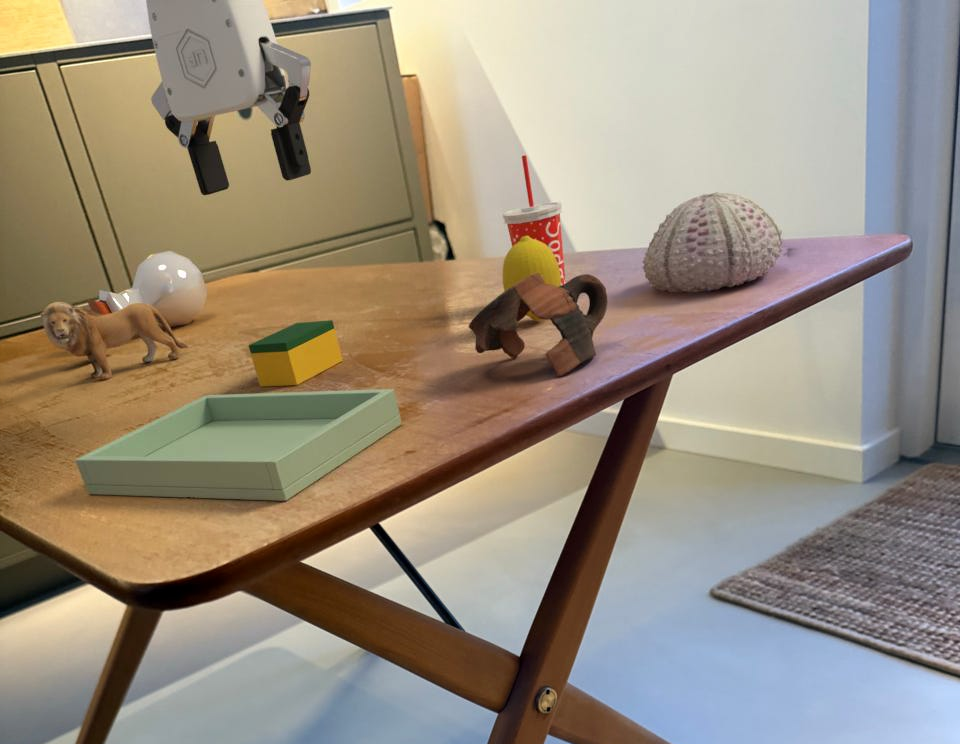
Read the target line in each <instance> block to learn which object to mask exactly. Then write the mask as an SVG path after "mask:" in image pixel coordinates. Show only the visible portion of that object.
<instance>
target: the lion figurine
mask: <svg viewBox="0 0 960 744" xmlns="http://www.w3.org/2000/svg"><path fill="white" fill-rule="evenodd" d="M40 318H41V320H42V327H43V329H44V331H45V334H46V337H47V339H48V340H49V341H50V342H51V344H53V346H54V347H56V348H57V349H60V350H66V351H67V352H68V353H70V354H72V356H73V355H74V356H75V357H78V358H79V357H87V360H88V361H89V362H91V363H90V364H91V365H92V368H93V371H94V372H92V373H91V374H90V378H92V379H97V378H99V380H100V381H104V380H105V381H106V380H109V379H111V377H112V368H111V366H110V365H109V362H108V357H107V350H108V349H112V348H118V347H121V346H124V345H125V344H127V343H128V342H130V341H131V340H132V338H133V337H134V336H135V335H136V334H137V336H138V337H139V338H140V339H141V341H143V342H144V343H145V345H146V347H147V354H146V355H145V356H143V357H142V358H141V359H142V363H148V362H152V361H153V360H154V359H155V355H156V351H157V348H158V346H157V343H159V344H162V345H165V346H166V347H168V348H169V349H170V351H171V352H169V353H168V355H167V358H168V359H169V360H176V359H179V357H180V356H181V355H180V351H179V349H187V348H189V346H188V344H185V343H184V342H182V341H181V342H180V340H178V339H177V337H176V336H175V334H174V332H173V330H172V327H171V328H170V327H169V325H168V323H167V322H166V320H165V319H164V317H163V316H162V315H161V314H160V313H159V311H157V310H156V309H155V308H154V307H152V306H150V305H148V304H144V303H133V304H130V305H128V306H127V307H125V308H123V309H121V310H119V311H117V312H114V313H111V314H107V315H103V314H101V313H96V312H94V311H92V310H91V309H90V308H88V307H85V306H84V307H83V306H77V305H75V306H74V305H73V304H71V303H68V302H63V301H55V302H52V303H49V304H48V305H46V306H45V308H44V309H43V311H42V312H40ZM155 318H157V319H158V320H159V322H160V323H161V324H160V323H158V322H156V319H155ZM159 324H160V325H161V326H162V327H163V329H164V330H165V332H164V331H163V330H162V328H161V326H159Z"/></svg>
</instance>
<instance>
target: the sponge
mask: <svg viewBox="0 0 960 744" xmlns="http://www.w3.org/2000/svg"><path fill="white" fill-rule="evenodd" d="M248 349H249V353H250V356H251V360H252V363H253V366H254V370H255V373H256V377H257V380H258V383H259V387H261V388H263V387H284V386H287V387H289V386H298V385H300V384H302V383H304V382H306V381H308V380H310V379H311V378H313V377H316V375H319V374H320V373H323V372H324V371H326V370H329V369H330V368H332V367H334V366H335V365H337V364H339V363H341V362H343V357H342V352H341V348H340V345H339V341H338V337H337V332H336V329H335V325H334V321H333V320H317V321H305V322H304V321H303V322H295V323H293V324H290V325H289V326H287V327H285V328H282V329H281V330H278V331H276V332H274V333H272V334H270V335H267V336H265V337H264V338H261V339H259V340H257V341H255V342H252V343H249V344H248Z"/></svg>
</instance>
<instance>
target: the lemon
mask: <svg viewBox="0 0 960 744" xmlns="http://www.w3.org/2000/svg"><path fill="white" fill-rule="evenodd" d="M535 273H540V274H541V277H542V278H543V280H544V281H545V283H547V284H551V285H555V286H557V287H559V286H561V275H560V270H559V266H558V263H557V261H556V258H555V256H554V254H553V252H552V251H551V249H550V248H549V247H548V246H547V245H545V244H544V243H542V242H540V241H538V240H534V239H531V238H530V237H529V236H524V237H522V238H521V239H520V241H519V242H518V243H516V244H515V245H514V246H513V247H512V246H511V247H510V249H509V250H508V252H507V253H506V255H505V258H504V259H503V265H502V286H503V290H504V291H503V292H505V291H506V290H508V289H509V288H511V287H513V286H514V285H515V284H517V283H518V282H520V281H521V280H523V279H525V278H527V277H528V276H530V275H533V274H535ZM526 316H527V317H529V318H530V319H531V320H532V321H534V322H537V323H538V322H540V321H541V322H542V319H540V318H538V317H537V316H536V315H533V314H532V313H531V311H529V312H528V313H527V314H526Z"/></svg>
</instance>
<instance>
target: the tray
mask: <svg viewBox="0 0 960 744" xmlns="http://www.w3.org/2000/svg"><path fill="white" fill-rule="evenodd" d="M398 404H399V403H398V400H397V396H396V391H395V389H394V388H386V389H385V388H380V389H379V388H377V389H376V388H375V389H347V390H346V389H345V390H321V391H320V390H319V391H317V390H316V391H294V392H293V391H289V392H262V393H232V394H231V393H230V394H229V393H228V394H206V395H205V394H204V395H203V396H201V397H199V398H197V399H195V400H193V401H191V402H189V403H186V404H185V405H182V406H180V407H179V408H176V409H174V410H173V411H170V412H168V413H166V414H164V415H162V416H161V417H158V418H157V419H155V420H152V421H150V422H147V423H145V425H142V426H140V427H138V428H136V429H134V430H132V431H130V432H128V433H126V434H124V435H121V436H120V437H117V438H116V439H114V440H112V441H110V442H108V443H106V444H104V445H102V446H100V447H98V448H96V449H94V450H91V451H90V452H88V453H85V454H84V455H81V456H79V457H77V458H76V459H74V461H75V464H76V467H77V469H78V472H79V474H80V476H81V480H82V482H83V484H84V487H85V489H86V492H87V494H88V495H101V496H103V495H104V496H130V497H131V496H133V497H163V498H187V497H191V498H190V499H192V498H193V497H194V498H193V499H218V500H219V499H220V500H247V501H248V500H249V501H276V502H277V501H279V502H287V501H289V500H290V499H291V498H293V497H294V496H296V495H297V494H299V493H300V492H302V491H303V490H305V489H307V488H308V487H309V486H312V484H314V483H315V482H317V481H318V480H320V479H322V478H324V477H325V476H326V475H327V474H329V473H331V472H332V471H333V470H335V469H337V468H338V467H339V466H341V465H343V464H344V463H345V462H347V461H349V460H351V459H352V458H353V457H355V456H356V455H358V454H359V453H361V452H362V451H364V450H366V449H367V448H369V447H370V446H371V445H373V444H374V443H376V442H377V441H379V440H380V439H382V438H383V437H385V436H386V435H388V434H389V433H390V432H393V431H394V430H395V429H397V428H399V427H400V426H402V423H403V421H402V418H401V417H402V416H401V414H400V408H399V405H398Z"/></svg>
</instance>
